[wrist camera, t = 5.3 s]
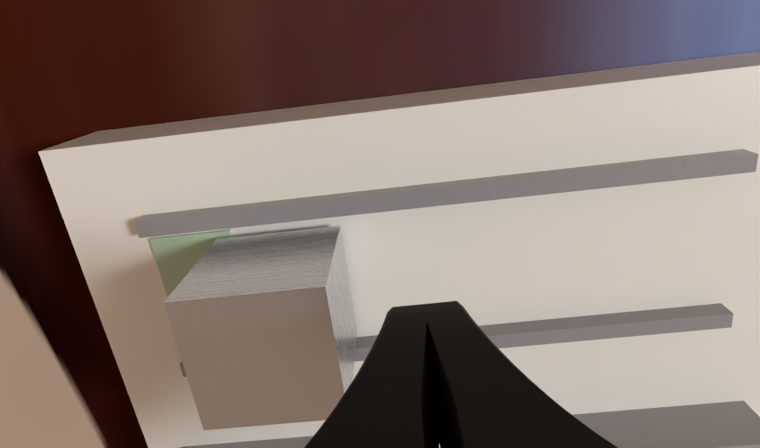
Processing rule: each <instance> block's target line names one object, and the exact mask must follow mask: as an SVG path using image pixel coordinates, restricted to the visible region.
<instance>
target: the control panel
mask: <svg viewBox="0 0 760 448" xmlns="http://www.w3.org/2000/svg"><path fill="white" fill-rule="evenodd" d="M38 153H39V155H40V158H41V161H42V163H43V166H44V169H45V171H46V174H47V177H48V179H49V182H50V185H51V188H52V190H53V193H54V196H55V198H56V201H57V204H58V206H59V209H60V212H61V214H62V217H63V220H64V222H65V225H66V228H67V231H68V233H69V236H70V239H71V241H72V244H73V247H74V249H75V252H76V255H77V257H78V260H79V263H80V265H81V268H82V271H83V274H84V276H85V279H86V282H87V284H88V287H89V290H90V292H91V295H92V298H93V300H94V303H95V306H96V308H97V311H98V314H99V316H100V319H101V322H102V325H103V327H104V330H105V333H106V335H107V338H108V341H109V343H110V346H111V349H112V351H113V354H114V357H115V359H116V362H117V365H118V368H119V370H120V373H121V376H122V378H123V381H124V384H125V386H126V389H127V392H128V394H129V397H130V400H131V402H132V405H133V408H134V411H135V413H136V416H137V419H138V421H139V424H140V427H141V429H142V432H143V435H144V437H145V440H146V443H147V445H148V448H304V447H305V446H306V445H307V443H308V442H309V441H310V440H311V438H312V437H313V436H314V435H315V434H316V432H317V431H318V430H319V428H320V427H321V426H322V425H323V423H324V422H325V421H326V420H322V421H310V422H298V423H286V424H274V425H262V426H250V427H238V428H226V429H214V430H203V426H202V423H201V420H200V417H199V414H198V410H197V407H196V404H195V401H194V398H193V395H192V391H191V388H190V385H189V382H188V379H187V376H186V372H185V369H184V366H183V363H182V360H181V357H180V353H179V350H178V347H177V344H176V341H175V338H174V334H173V331H172V328H171V325H170V322H169V318H168V315H167V312H166V309H165V306H164V301H165V300H166V299H167V298H168V297H169V295H170V294H171V293H172V292H173V291H174V289H175V288H176V287H177V286H178V285H179V283H180V282H181V281H182V280H183V279H184V277H185V276H186V275H187V274H188V273H189V271H190V270H191V269H192V268H193V267H194V265H195V264H196V263H197V262H198V261H199V259H200V258H201V257H202V256H203V255H204V253H205V252H206V251H207V250H208V249H209V247H210V246H211V245H212V244H213V242H214V241H215V240H216V239H220V238H230V237H239V236H248V235H258V234H267V233H277V232H286V231H295V230H305V229H314V228H324V227H333V226H341V233H342V239H343V245H344V251H345V258H346V264H347V270H348V277H349V283H350V289H351V295H352V302H353V308H354V314H355V320H356V327H357V333H358V335H357V344H356V354H355V364H354V374H353V380H354V378H355V376H356V375H357V373H358V371H359V370H360V368H361V366H362V364H363V363H364V361H365V359H366V357H367V355H368V354H369V352H370V350H371V348H372V346H373V344H374V342H375V340H376V338H377V336H378V334H379V332H380V330H381V328H382V325H383V323H384V320H385V318H386V314H387V312H388V311H389V310H390V309H391V308H392V307H398V306H408V305H418V304H429V303H439V302H449V301H458V302H459V303H460V304H461V305H462V306H463V307H464V308H465V310H466V311H467V312H468V314H469V315H470V316H471V318H472V319H473V320H474V321H475V323H476V324H477V325H478V326H479V327H480V329H481V330H482V331H483V332H484V333H485V334H486V335H487V337H488V338H489V339H490V340H491V341H492V342H493V343H494V344H495V345H496V346H497V347H498V348H499V350H500V351H501V352H502V353H503V354H504V355H505V356H506V357H507V358H508V359H509V360H510V361H511V362H512V363H513V364H514V365H515V366H516V367H517V368H518V369H519V370H520V371H521V372H523V373H524V374H525V375H526V376H527V377H528V378H529V379H530V380H531V381H532V382H533V383H535V384H536V385H537V386H538V387H539V388H540V389H541V390H542V391H544V392H545V393H546V394H547V395H548V396H549V397H551V398H552V399H553V400H554V401H555V402H556V403H558V404H559V405H560V406H561V407H563V408H564V409H565V410H566V411H568V412H569V413H570V414H571V415H573V416H574V417H575V418H577V419H578V420H579V421H581V422H582V423H583V424H585V425H586V426H587V427H589V428H590V429H591V430H593V431H594V432H596V433H597V434H598V435H600V436H601V437H603V438H604V439H606V440H607V441H609V442H610V443H612V444H613V445H615V446H616V447H618V448H760V51H758V52H749V53H741V54H733V55H725V56H716V57H708V58H700V59H691V60H683V61H675V62H667V63H658V64H650V65H642V66H634V67H625V68H617V69H609V70H601V71H592V72H584V73H576V74H567V75H559V76H551V77H543V78H534V79H526V80H518V81H510V82H501V83H493V84H485V85H477V86H468V87H460V88H452V89H443V90H435V91H427V92H419V93H410V94H402V95H394V96H386V97H377V98H369V99H361V100H352V101H344V102H336V103H328V104H319V105H311V106H303V107H295V108H286V109H278V110H270V111H262V112H253V113H245V114H237V115H228V116H220V117H212V118H204V119H195V120H187V121H179V122H171V123H162V124H154V125H146V126H138V127H129V128H121V129H113V130H104V131H97V132H94V133H91V134H88V135H85V136H82V137H79V138H76V139H73V140H70V141H68V142H65V143H62V144H59V145H56V146H53V147H50V148H47V149H44V150H41V151H38ZM439 448H440V444H439Z"/></svg>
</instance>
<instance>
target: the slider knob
mask: <svg viewBox="0 0 760 448" xmlns="http://www.w3.org/2000/svg"><path fill="white" fill-rule="evenodd" d="M164 306H165V309H166V312H167V315H168V318H169V322H170V325H171V328H172V331H173V334H174V338H175V341H176V344H177V347H178V350H179V353H180V357H181V360H182V363H183V366H184V369H185V372H186V376H187V379H188V382H189V385H190V388H191V391H192V395H193V398H194V401H195V404H196V407H197V410H198V414H199V417H200V420H201V423H202V426H203V430H214V429H226V428H238V427H250V426H262V425H274V424H286V423H298V422H310V421H322V420H326V419H327V418H328V416H329V415H330V414H331V412H332V411H333V410H334V408H335V407H336V405H337V404H338V402H339V401H340V399H341V398H342V396H343V395H344V393H345V392H346V390H347V389H348V387H349V386H350V384H351V383H352V381H353V374H354V364H355V354H356V344H357V335H358V333H357V327H356V320H355V314H354V308H353V302H352V295H351V289H350V283H349V277H348V270H347V264H346V258H345V251H344V245H343V239H342V233H341V226H333V227H324V228H314V229H305V230H295V231H286V232H277V233H267V234H258V235H248V236H239V237H230V238H220V239H216V240H215V241H214V242H213V244H212V245H211V246H210V247H209V249H208V250H207V251H206V252H205V253H204V255H203V256H202V257H201V258H200V259H199V261H198V262H197V263H196V264H195V265H194V267H193V268H192V269H191V270H190V271H189V273H188V274H187V275H186V276H185V277H184V279H183V280H182V281H181V282H180V283H179V285H178V286H177V287H176V288H175V289H174V291H173V292H172V293H171V294H170V295H169V297H168V298H167V299H166V300H165V301H164Z"/></svg>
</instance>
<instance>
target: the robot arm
mask: <svg viewBox="0 0 760 448" xmlns="http://www.w3.org/2000/svg"><path fill="white" fill-rule="evenodd" d="M439 444H440V448H618V447H616V446H615V445H613V444H612V443H610V442H609V441H607V440H606V439H604V438H603V437H601V436H600V435H598V434H597V433H596V432H594V431H593V430H591V429H590V428H589V427H587V426H586V425H585V424H583V423H582V422H581V421H579V420H578V419H577V418H575V417H574V416H573V415H571V414H570V413H569V412H568V411H566V410H565V409H564V408H563V407H561V406H560V405H559V404H558V403H556V402H555V401H554V400H553V399H552V398H551V397H549V396H548V395H547V394H546V393H545V392H544V391H542V390H541V389H540V388H539V387H538V386H537V385H536V384H535V383H533V382H532V381H531V380H530V379H529V378H528V377H527V376H526V375H525V374H524V373H523V372H521V371H520V370H519V369H518V368H517V367H516V366H515V365H514V364H513V363H512V362H511V361H510V360H509V359H508V358H507V357H506V356H505V355H504V354H503V353H502V352H501V351H500V350H499V348H498V347H497V346H496V345H495V344H494V343H493V342H492V341H491V340H490V339H489V338H488V337H487V335H486V334H485V333H484V332H483V331H482V330H481V329H480V327H479V326H478V325H477V324H476V323H475V321H474V320H473V319H472V318H471V316H470V315H469V314H468V312H467V311H466V310H465V308H464V307H463V306H462V305H461V304H460V303H459V302H458V301H449V302H439V303H429V304H418V305H408V306H398V307H392V308H391V309H390V310H389V311H388V312H387V314H386V318H385V320H384V323H383V325H382V328H381V330H380V332H379V334H378V336H377V338H376V340H375V342H374V344H373V346H372V348H371V350H370V352H369V354H368V355H367V357H366V359H365V361H364V363H363V364H362V366H361V368H360V370H359V371H358V373H357V375H356V376H355V378H354V380H353V381H352V383H351V384H350V386H349V387H348V389H347V390H346V392H345V393H344V395H343V396H342V398H341V399H340V401H339V402H338V404H337V405H336V407H335V408H334V410H333V411H332V412H331V414H330V415H329V416H328V418H327V419H326V421H325V422H324V423H323V425H322V426H321V427H320V428H319V430H318V431H317V432H316V434H315V435H314V436H313V437H312V438H311V440H310V441H309V442H308V443H307V445H306V446H305V447H304V448H439Z"/></svg>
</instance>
